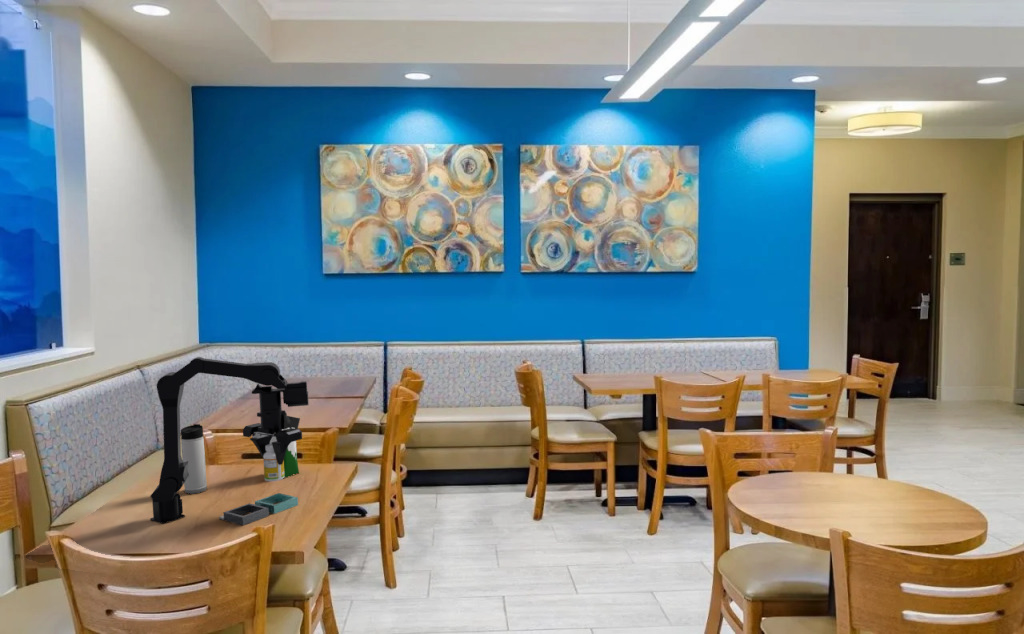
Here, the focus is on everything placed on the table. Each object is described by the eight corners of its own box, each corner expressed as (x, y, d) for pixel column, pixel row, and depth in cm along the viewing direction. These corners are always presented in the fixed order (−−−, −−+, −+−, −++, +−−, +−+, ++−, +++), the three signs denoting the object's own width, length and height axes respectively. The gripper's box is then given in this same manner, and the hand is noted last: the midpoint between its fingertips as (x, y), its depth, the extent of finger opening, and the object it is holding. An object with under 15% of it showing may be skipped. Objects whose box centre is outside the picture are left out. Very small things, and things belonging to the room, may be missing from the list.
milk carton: (263, 476, 235) (259, 415, 233) (285, 469, 242) (281, 410, 241) (281, 480, 230) (277, 418, 228) (303, 472, 238) (300, 412, 236)
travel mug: (211, 487, 225) (207, 423, 224) (200, 494, 219) (195, 428, 217) (192, 487, 226) (188, 424, 224) (180, 494, 219) (176, 429, 218)
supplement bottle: (277, 474, 208) (275, 441, 207) (288, 478, 204) (286, 444, 203) (260, 479, 204) (258, 445, 203) (271, 483, 200) (269, 448, 199)
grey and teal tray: (243, 525, 191) (242, 517, 190) (219, 519, 196) (218, 511, 196) (298, 504, 206) (297, 497, 206) (274, 499, 211) (274, 491, 211)
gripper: (316, 405, 204) (318, 460, 205) (272, 400, 214) (275, 452, 215) (284, 413, 195) (287, 470, 196) (240, 407, 205) (243, 461, 206)
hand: (273, 463), depth 204 cm, fingers closed on supplement bottle, 5 cm apart
